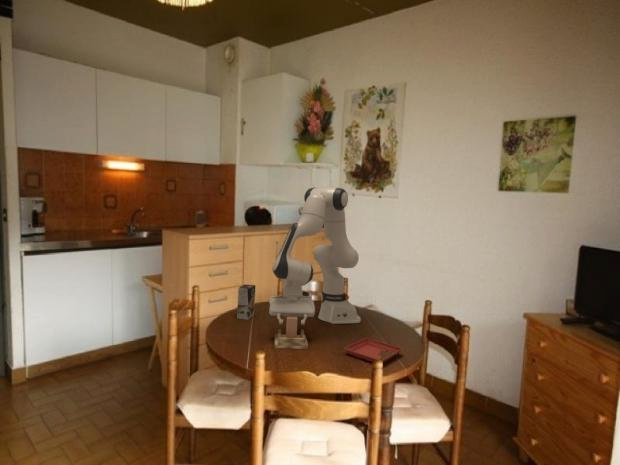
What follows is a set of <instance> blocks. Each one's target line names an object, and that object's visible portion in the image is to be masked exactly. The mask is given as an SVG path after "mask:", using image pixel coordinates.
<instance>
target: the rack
mask: <svg viewBox="0 0 620 465" xmlns="http://www.w3.org/2000/svg"><path fill="white" fill-rule="evenodd" d="M308 345H309V344H308V340H307V335H306V334H305V330H304V329H300V334H297V338H286V334H282V329H281V328H277V334H274V349H297V350H305V349H306V350H309V346H308Z"/></svg>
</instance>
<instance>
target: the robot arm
mask: <svg viewBox="0 0 620 465" xmlns="http://www.w3.org/2000/svg"><path fill="white" fill-rule="evenodd" d="M348 195H349V194H348V192H347V191H346V190H345V188H341V187H333V186H331V187H329V186H324V187H311V188H308V189H307V190H306V192H305V193H304V196H303V197H304V198H303V200H304V205H303V207H302V211H301V215H300V216H299V217H300V218H299V219H298V221H297V222H295V223H293V224H292V225H291V226H290V228H289V230H288V231H287V234H286V236H285V239H284V241H283V243H282V246H281V248H280V251H279V252H278V255H277V257H276V259H275V261H274V263H273V266H272V272H273V275H274V276H275V278H277V279H280V280H282V285H283V287H282V295H272V296H270V297H269V298H268V303H269V311H268V314H269V315H270V316H272V317H273V316H276V318H277V321H278V322H279V323H278V324H279V325H283V324H284V323H283V322H284V319H281V317H283V316H284V317H287V316H289V317H303V319H301V321H300V326H305V323H306V320H307V319H308V318H309V317H311V318H313V317H314V316H315V313H316V307H315V303H314V300H313V299H312V296H313V295H312V293H311V292H309V291H305V290H303V289H302V287H303V286H306V285H307V284H309V283H310V282H311V281H312V280H313V278H314V268H313V265H312V264H311V263H309V262H306V261H303V260H299V259H295V258H291V257H290V256H291V253H292V250H293V247H294V245H295V243H296V241H297V240H298V239H300V238H305V237H312V236H315V235H318V234H319V233H320V232H321V231H322V229H323V233H324V234H323V235H324V237H325V238H326V239H327V240H329V241H330V243H331V244H329V243H327V244H318V245H317V246H315V248H314V250H313V258H314V260H315V262H316V263H317V264H318V265H319V267H320V270H321V274H322V291H321V295H320V296H321V298H320V300H321V305H320V310H319V312H318V315H317V319H318V320H321V321H323V322H327V323H330V324H334V325H335V324H339V325H340V324H360V323H361V322H362V318H361V317H360V316H359V315H358V313H357V308H356V307H355V306H354V305H353V303H351V302H350V301H349V299H350V296H349V295H348V293H345V276H343V275H342V274H341V273H340V272H339V269H338V268H342V269H353V268H355V267H356V266H357V265H358V263H359V253H358V251H357V250H356V249H355V248H354V247H353V246H352V245H351V243H350V241H349V238H348V237H347V229H346V213H345V212H346V211H345V208H346V207H347V205H348V203H349V196H348Z"/></svg>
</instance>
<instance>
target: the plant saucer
mask: <svg viewBox="0 0 620 465" xmlns="http://www.w3.org/2000/svg"><path fill="white" fill-rule="evenodd" d="M382 349H383V350H384V351H385V350H387V351H391V352H395V353H394V354H392V355H390V356H388V357H387V358H385V359H383V360H382V361H383V362H384V363H386V362H388V361H389V360H391V359H392V357H393V358H395V357H396V356H398V354H400V353H401V351H402V350H403V348H402V347H398V346H395V345H391V344H389V343H385V342H382V341H378V340H376V339H371V338H368V337H365V338H363V339H360V340H358V341H356V342H354V343H351V344H349V345H347V346H345V347H344V350H345V351H346V353H347V354H348V355H349V354H350V356H352V355H353V356H352V357H355V358H359V359H361V358H362V359H361V360H363V359H365V360H364V361H366V360H367V361H366V362H369V361H371V362H370V363H372V362H373V361H375V360H379V359H381V356H380V355H378V354H380V351H381V350H382ZM383 350H382V351H383ZM395 355H396V356H395ZM394 356H395V357H394ZM390 358H391V359H390ZM388 359H389V360H388ZM387 360H388V361H387ZM385 361H386V362H385Z"/></svg>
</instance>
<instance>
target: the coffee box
mask: <svg viewBox="0 0 620 465" xmlns="http://www.w3.org/2000/svg"><path fill="white" fill-rule="evenodd" d="M256 286H257V285H255V284H243V285H240V286H239V287H238V293H237V294H238V295H237V311H236V312H237V313H236V319H238V320H239V319H240V320H245V321H249V320H250V319H251V318H253V317H254V315H255V308H256V307H255V305H256V304H255V301H256Z"/></svg>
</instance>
